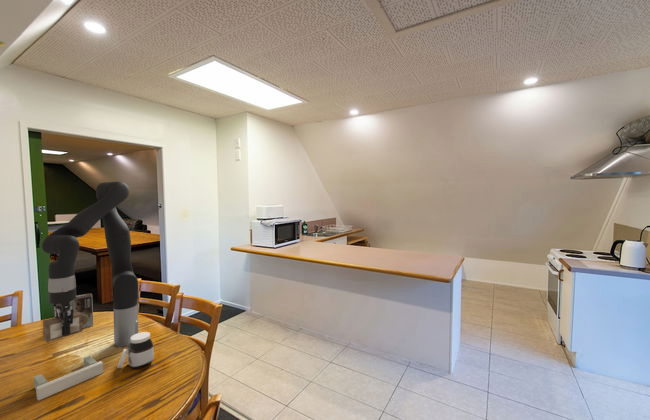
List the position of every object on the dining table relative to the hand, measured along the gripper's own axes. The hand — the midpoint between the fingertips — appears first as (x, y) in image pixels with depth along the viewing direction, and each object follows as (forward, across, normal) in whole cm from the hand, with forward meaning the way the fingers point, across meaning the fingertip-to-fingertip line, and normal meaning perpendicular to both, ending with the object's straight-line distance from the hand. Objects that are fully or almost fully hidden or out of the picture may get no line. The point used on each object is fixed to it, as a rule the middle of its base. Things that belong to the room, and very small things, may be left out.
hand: (64, 333), depth 105 cm
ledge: (+17, +3, 0) cm, 17 cm away
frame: (+1, 0, 0) cm, 1 cm away
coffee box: (+17, -48, +18) cm, 54 cm away
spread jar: (+17, +13, +18) cm, 28 cm away
